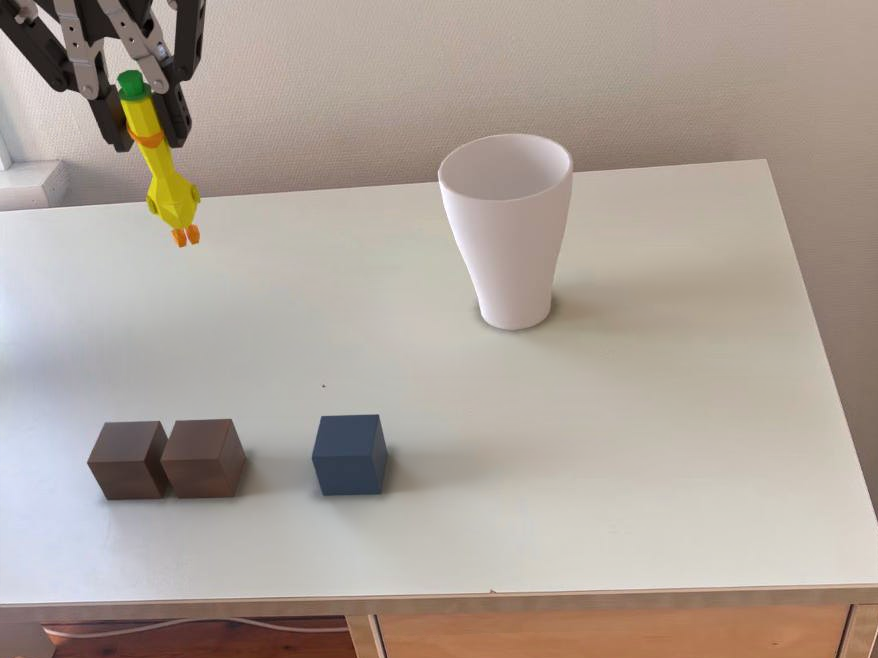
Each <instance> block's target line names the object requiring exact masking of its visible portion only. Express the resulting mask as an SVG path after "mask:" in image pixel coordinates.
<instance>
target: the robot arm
mask: <svg viewBox="0 0 878 658" xmlns="http://www.w3.org/2000/svg"><path fill="white" fill-rule="evenodd" d="M166 2H167V4H168V6H169V8H171V9H172V10H173V11H176V18H175V19H176V20H175V33H174V34H175V35H174V49H173V54H172V53H171V51H170V49H169V47H168V45H167V44H166V41H165V40H164V33H163V29H162V26H161V24H160V23H159V21H158V19H157V17H156V15H155V12H154V10H153V9H152V6H153V3H154V0H0V30H1V31H2V32H3V33H4V35H5V36H6V37H7V38H8V40H10V42H11V43H12V44H13V45H14V47H16V48H17V50H18V51H19V52H20V54H22V55H23V57H24V58H25V59H26V60H27V62H29V64H30V65H31V66H32V67H33V68H34V70H35V71H36V72H37V73H38V74H39V75H40V77H41V78H42V79H43V80H44V81H45V82H46V83H47V85H48V86H49V87H50V88H51V89H52V90H53V91H55V92H57V93H64V92H65V91H71V92H75V93H78V94H80V95H81V96H82V97H83V98H85V100H87V102H88V105H89V107H90V110H91V112H92V115H93V117H94V120H95V122H96V124H97V127H98V129H99V132H100V134H101V136H102V139H103V140H104V141H105V143H106V144H107V145H109V146H110V145H113V148H114V150H115V152H116V153H118V154H123V153H129V152H130V151H131V149H132V147H133V145H134V144H135V142H136V141H135V140H133V139H132V138H131V136H130V134H129V132H128V130H127V125H126V120H127V118H126V115H125V112H124V110H123V107H122V104H121V99H120V98H119V96H118V92H119V90H118V88H117V85H116V84H115V83H112V84H111V83H110V81H109V78H110V76H109V70H108V64H107V60H106V55H105V50H104V49H105V48H104V47H105V46H104V45H105V38H110V39H115V40H120V41H121V43H122V44H123V46H124V49H125V50H126V52H127V54H128V55H129V57H130V59H132V60H133V61H135V62H136V64H138V67H139V68H140V70H141V73H142V75H143V77H145V79H146V81H147V84H149V85H150V87H151V88H152V92H153V94H152V99H153V102H154V104H155V107H156V110H157V113H158V116H159V118H160V121H161V124H162V127H163V130H164V132H165V135H166V138H167V141H168V144H169V146H170V149H171V150H172V149H181V148H182V149H183V147H184V145H185V144H186V141H187V139H188V137H189V134H190V133H191V131H192V129H193V128H192V127H193V120H192V116H191V113H190V110H189V107H188V104H187V101H186V98H185V95H184V91H183V89H182V86H181V83H182V82H189V81H190V80H191V79H192V78H193V77H194V74H195V72H196V70H197V69H198V66H199V64H200V62H201V60H202V54H203V44H204V43H203V41H204V29H205V19H206V6H207V0H166ZM38 7H39V8H41V10H43V11H44V12H45V13H46V14H47V15H49V16H50V17H51V18H52V19H53V20H54V21H55V22H56V23H57V24H59V25H60V28H61V32H62V36H63V41H64V45H63V44H62V43H61V41H60V40H59V39H58V37H56V35H55V34H54V32H52V30H50V28H49V26H48V25H47V24H46V23H45V22H44V20H42V19H41V17H40V16H39V9H38Z"/></svg>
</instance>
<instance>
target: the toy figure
mask: <svg viewBox="0 0 878 658" xmlns="http://www.w3.org/2000/svg"><path fill="white" fill-rule="evenodd" d="M116 81H117V82H118V84H119V86H120V89H119V90H118V96H119V98H120V99H121V104H122V107H123V110H124V112H125V115H126V118H127V120H126V125H127V130H128V132H129V134H130V136H131V138H132V139H133V140H135V141H134V142H135V143H136V145H137V147H138V150H139V151H140V153H141V155H142V157H143V160H144V161H145V163H146V164H147V167H148V170H149V171H150V172H151V175H152V178H151V181H150V183H149V184H150V185H149V187H148V191H147V193H146V194H147V195H146V196H145V201H146V205H147V207H148V210H149V212H150V213H151V214H152V215H155V216H157V217H158V218H159V219H160V220H162V221H163V222H164V223H166V225H168V226H170V227H171V228H172V230H171V231H170V232H171V235H172V238H173V240H174V243H175V244H176V245H177V246H178V248H179V249H180V248H181V249H182V248H184V247H187V239H188V241H189V242H190V244H191V246H193V245H197V244H200V237H201V234H200V233H201V232H200V231H199V227H198V225H197V224H193V221H194V220H195V219H194V218H195V215H196V212H197V208H198V205H199V204H201V202H202V199H201V196H200V193H199V190H198V186H197V184H195V183H194V184H192V182H190V181H189V180H188V179H186V178H185V177H184V176H182V175H181V174H180V173H178V172H177V171H176V168H175V165H174V160H173V156H172V149H171V148H170V146H169V144H168V141H167V138H166V135H165V132H164V130H163V127H162V124H161V121H160V118H159V116H158V113H157V110H156V107H155V104H154V102H153V99H152V94H153V92H154V91H153V90H152V88H151V87H150V85H149V83H148V82H144V75H143V72H142V71H140V70H138V69H127V70H124V71H123V72H119V73H118V75H117V78H116ZM184 229H185V230H184ZM185 232H186V233H185Z"/></svg>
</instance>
